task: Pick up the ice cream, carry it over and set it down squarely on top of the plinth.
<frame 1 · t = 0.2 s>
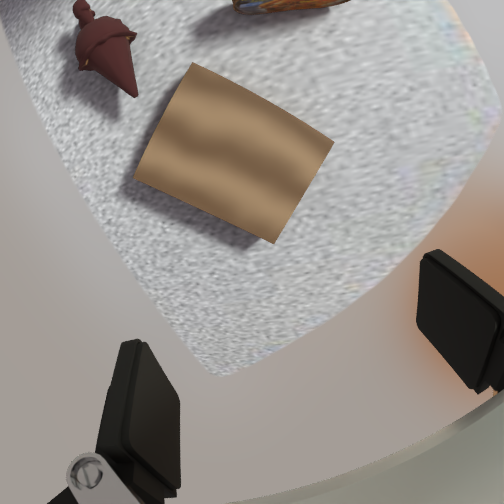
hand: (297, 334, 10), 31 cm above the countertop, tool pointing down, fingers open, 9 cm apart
base: (232, 152, 37), on the countertop
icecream: (113, 52, 29), on the countertop
tin: (287, 0, 29), on the countertop
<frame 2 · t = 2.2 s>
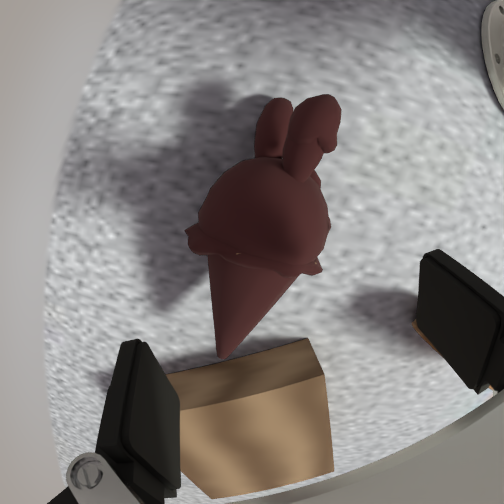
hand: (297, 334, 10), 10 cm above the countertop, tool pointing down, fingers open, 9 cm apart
base: (247, 423, 27), on the countertop
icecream: (250, 215, 19), on the countertop
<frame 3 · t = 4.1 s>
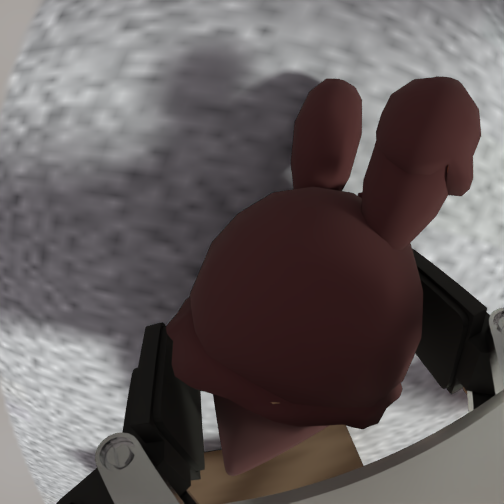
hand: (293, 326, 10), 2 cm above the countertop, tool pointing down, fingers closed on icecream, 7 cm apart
base: (259, 493, 20), on the countertop
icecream: (276, 273, 12), on the countertop, touching gripper
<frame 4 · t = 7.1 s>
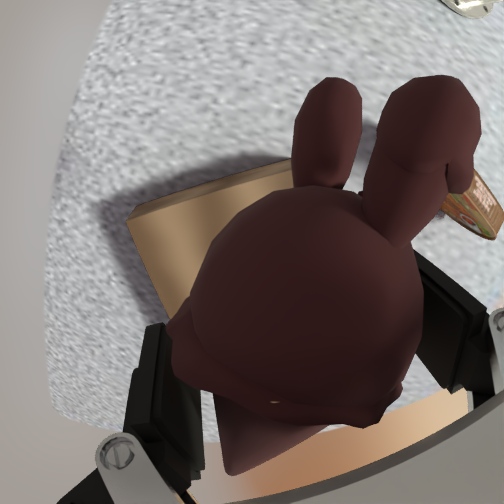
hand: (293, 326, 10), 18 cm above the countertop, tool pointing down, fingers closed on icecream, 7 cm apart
base: (242, 271, 30), on the countertop
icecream: (276, 272, 12), point 16 cm above the countertop, touching gripper
tin: (426, 177, 29), on the countertop
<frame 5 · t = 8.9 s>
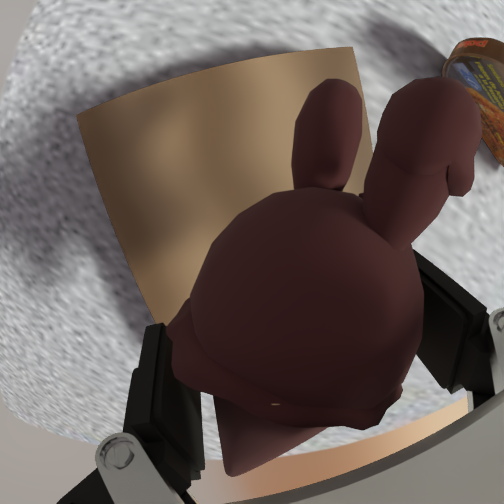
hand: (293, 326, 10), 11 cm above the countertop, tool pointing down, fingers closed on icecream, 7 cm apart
base: (248, 216, 20), on the countertop
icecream: (276, 274, 12), point 9 cm above the countertop, touching gripper
tin: (479, 114, 19), on the countertop
when the fingers open (7 cm above the countertop, at t = 10.2 s): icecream drops 1 cm, resting on base.
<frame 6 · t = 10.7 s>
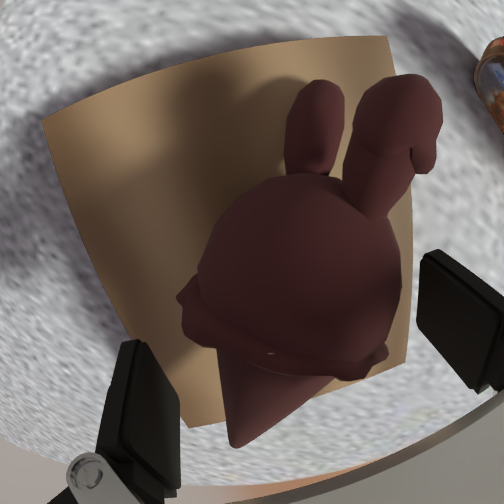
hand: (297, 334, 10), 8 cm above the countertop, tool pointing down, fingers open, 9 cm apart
base: (256, 239, 17), on the countertop
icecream: (273, 255, 13), point 4 cm above the countertop, touching base
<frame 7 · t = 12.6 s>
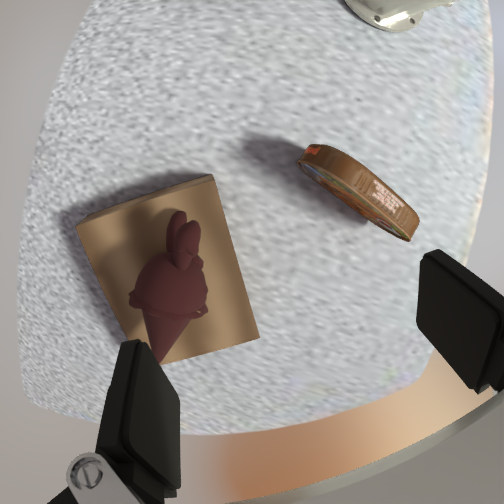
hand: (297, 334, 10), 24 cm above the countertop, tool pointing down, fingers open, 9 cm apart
base: (173, 271, 34), on the countertop
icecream: (172, 278, 31), point 4 cm above the countertop, touching base
tin: (344, 185, 35), on the countertop
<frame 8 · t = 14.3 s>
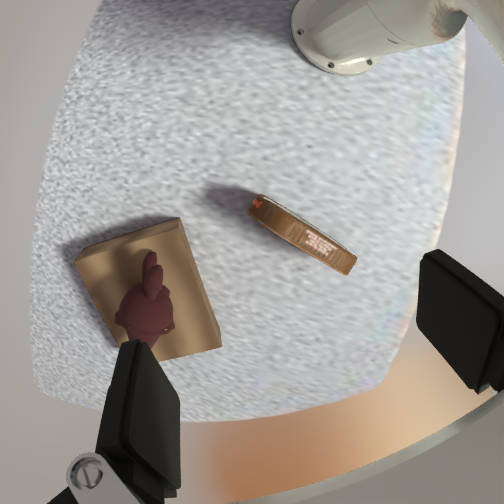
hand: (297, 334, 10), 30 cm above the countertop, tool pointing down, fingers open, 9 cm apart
base: (153, 292, 42), on the countertop
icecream: (149, 300, 38), point 4 cm above the countertop, touching base
tin: (295, 222, 41), on the countertop
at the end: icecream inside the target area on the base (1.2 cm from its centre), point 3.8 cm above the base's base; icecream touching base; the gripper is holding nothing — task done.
